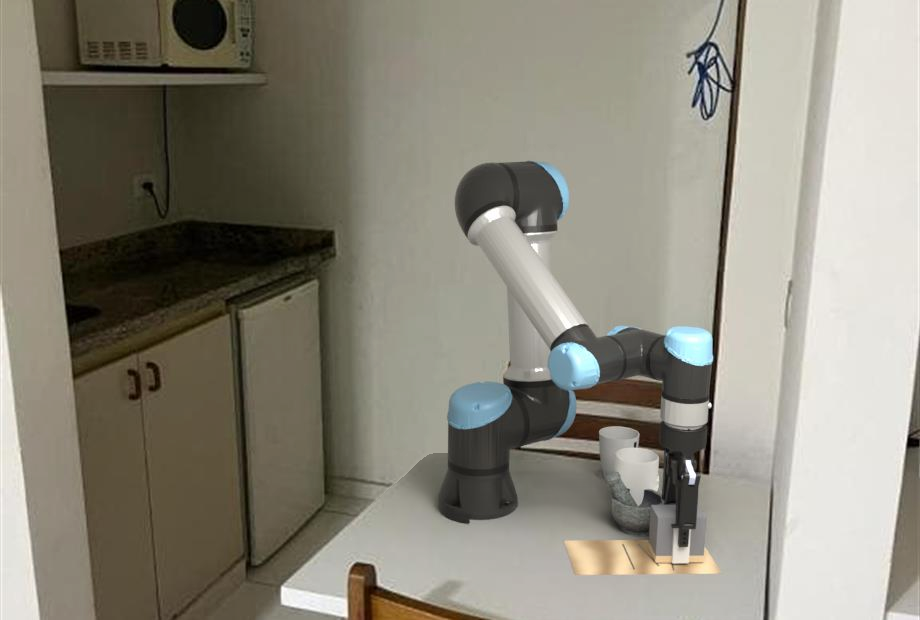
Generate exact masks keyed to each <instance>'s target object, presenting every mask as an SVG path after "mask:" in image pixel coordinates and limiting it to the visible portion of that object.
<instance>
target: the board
mask: <svg viewBox="0 0 920 620" xmlns="http://www.w3.org/2000/svg"><path fill="white" fill-rule="evenodd" d="M563 542H564V545H565V548H566V553H567V554H568V557H569V561H570V564H571V568H572V569H573V573H574V576H593V575H594V576H595V575H596V576H604V575H607V576H608V575H610V576H611V575H615V576H618V575H619V576H620V575H623V576H625V575H627V576H628V575H698V574H700V575H701V574H702V575H709V574H711V575H713V574H715V575H717V574H719V575H720V574H721V575H722V574H723V573H722V571H721V569H720V568H719V566H718V565H717V563H716V561H715V560H714V559H713V557H712V556H711V553H709V551H708V549H707V548H706V546H705V547H704V561H703V562H689V563H655V561H654V559H653V557H652V555H651V553H650V551H649V549H648V547H649V539H604V540H603V539H602V540H598V539H596V540H594V539H593V540H592V539H590V540H589V539H585V540H581V539H580V540H578V539H577V540H576V539H575V540H572V539H571V540H563Z"/></svg>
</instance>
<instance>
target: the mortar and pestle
mask: <svg viewBox="0 0 920 620" xmlns="http://www.w3.org/2000/svg"><path fill="white" fill-rule="evenodd" d="M604 480H605V483H606V484H608V486H609V488H610V490H611V494H610V495H611V496H610V502H611V514H612V517H613V518H614V521H615V523H617V524H618V525H619V528H620V531H621V532H623V533H625V534H627V535H632V536H636V537H643V536H644V537H645V536H649V529H650V512H651V505H664V501H663V500H662V498H661V496H662V493H661V492H658V491H657V492H656V491H654V490H652V489H645V490H644V497H643V500H642V503H641V504H640V505H639V506H638V505H637V504H636V502H635V500H634V499H633V497H632V496H631V494H630V489H628V488H626V486H625V485H624V483H623V482H622V480H621V476H620V474H619V472H616V471H615V472H611V473H609V474H608V475H607V476H606V477H604Z"/></svg>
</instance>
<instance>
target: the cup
mask: <svg viewBox="0 0 920 620" xmlns="http://www.w3.org/2000/svg"><path fill="white" fill-rule="evenodd" d="M598 436H599V437H598V439H599V440H598V443H599V445H598V447H599V451H598V452H599V457H600V464H601V466H600V467H601V470H602V473H603V477H604V478H605V477H606V476H607V475H608V474H609V473H611V472H614V468H615V454H616V452H617V451H618V450H620V449H623V448H639V443H640V433H639V431H638V430H637V429H633V428H631V427H625V426H618V425H617V426H616V425H613V426H612V425H611V426H605V427H603V428H600V429H599V431H598Z"/></svg>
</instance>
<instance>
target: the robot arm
mask: <svg viewBox="0 0 920 620" xmlns="http://www.w3.org/2000/svg"><path fill="white" fill-rule="evenodd" d="M569 206H570V191H569V185H568V183H567V180H566V178H565V177H564V175H563V174H562V173H561V172H560V171H559V170H558V168H557V167H556V166H555V165H553V164H551V163H549V162H545V161H534V160H533V161H532V160H525V161H511V162H510V161H507V162H505V161H504V162H485V163H481V164H478V165H475V166H474V167H472V168H470V169H469V170H468V171H467V172H466V173H465V174H464V175H463V177H462V178H461V179H460V181H459V183H458V185H457V187H456V190H455V195H454V212H455V216H456V219H457V222H458V225H459V227H460V229H461V231H462V232H463V235H464V236H465V237H466V239H467V240H468V242H469V243H470V244H471V245H473V246H476V247H477V246H478V247H479V248H480V249H481V251H482V252H483V254H484V255H485V257H486V258H487V259H488V261H489V263H490V264H491V266H492V267H493V268H494V270H495V271H496V273H497V274H498V275H499V277H500V279H501V281H502V282H503V283H504V285H505V286H506V296H507V297H506V298H507V317H508V318H507V319H508V321H507V322H508V341H509V362H510V365H509V367H508V368H507V369H506V370H505V371H504V372H503V374H502V378H503V379H502V382H503V383H501V382H497V381H485V382H480V381H479V382H472V383H468V384H466V385H463V386H461V387H459V388H458V389H456V390H454V391H453V392H452V394H451V395H450V398H449V400H448V411H447V415H446V421H447V470H446V473H445V476H444V479H443V481H442V484H441V487H440V489H439V492H438V496H437V497H438V499H437V505H438V507H437V509H438V511H439V512H440V513H441V515H443V516H444V517H446V518H448V519H450V520H452V521H455V522H459V523H465V524H470V522H471V521H489V520H495V519H501V518H504V517H506V516H509V515H510V514H513V513H514V512H515V511H516V510H517V508H518V506H519V503H518V501H519V498H518V493H517V490H516V486H515V482H514V481H513V477H512V474H511V471H510V457H511V456H510V455H511V453H510V452H511V450H513V449H518V448H521V447H525V446H528V445H531V444H535V443H539V442H546V441H550V440H552V439H555V438H556V437H558V436H561V435H564V433H566V432H567V431H568V430H569V429H570V428H571V426H573V423H574V421H575V418H576V415H577V399H576V394H575V392H574V391H576V390H587V389H591V388H592V387H594V386H598V385H599V386H600V385H602V384H606V383H610V382H615V381H621V380H624V379H625V380H626V379H629V378H633V377H638V376H640V377H645V378H648V379H652V380H655V381H659V382H661V383H662V385H661V400H660V413H659V416H660V417H659V418H660V419H661V421H660V423H659V436H658V437H659V439H658V440H659V443H660V445H661V446H662V448H663V470H662V471H663V472H662V487H661V494H662V496H661V498H662V500H663V501H664V505H676V524H671V526H672V528H673V543H672V559H671V562H672V563H689V552H690V537H691V529H696V520H697V505H699V503H698V502H699V501H698V500H699V486H700V481H701V477H702V476H701V473H700V472H699V471H696V470H697V465H698V464H697V459H696V458H695V453H697V452H699V451H700V452H701V451H703V450H704V449H705V448H706V446H707V441H708V440H707V439H708V438H707V437H708V426H707V423H708V420H709V409H711V408H712V406H713V404H712V403H711V402H710V386H711V379H712V378H711V377H712V367H713V362H714V355H713V345H714V344H713V342H714V341H713V340H714V339H713V336H712V333H711V332H709V331H708V330H707V329H704V328H701V327H696V326H688V325H687V326H686V325H685V326H684V325H683V326H682V325H680V326H679V325H678V326H673V327H672V326H671V327H669V328H668V329H667V330H666V331H665V335H664V334H662V333H661V334H660V333H657V332H653V331H649V330H645V329H642V328H640V327H637V326H629V325H628V326H627V325H617V326H615V327H613V328H612V329H611V330H610V331H609V332H607V333H606V335H604V336H597V335H596V334H595V333H594V332H593V329H592V328H591V327H590V326H589V324H588V323H587V322H586V320H585V319H584V317H583V316H582V315H581V313H580V312H579V310H578V309H577V307H576V306H575V305H574V303H573V302H572V300H571V298H569V296H568V295H567V294H566V292H565V290H564V288H562V286H561V285H560V283H559V282H558V281H557V280H556V278H555V276H554V275H553V273H552V262H551V241H552V239H553V238H554V237H555V235H557V234H558V231H559V230H558V221H559V220H562V218H563V217H564V216H565V214H566V211H567V210H568V209H569ZM470 520H471V521H470Z"/></svg>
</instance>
